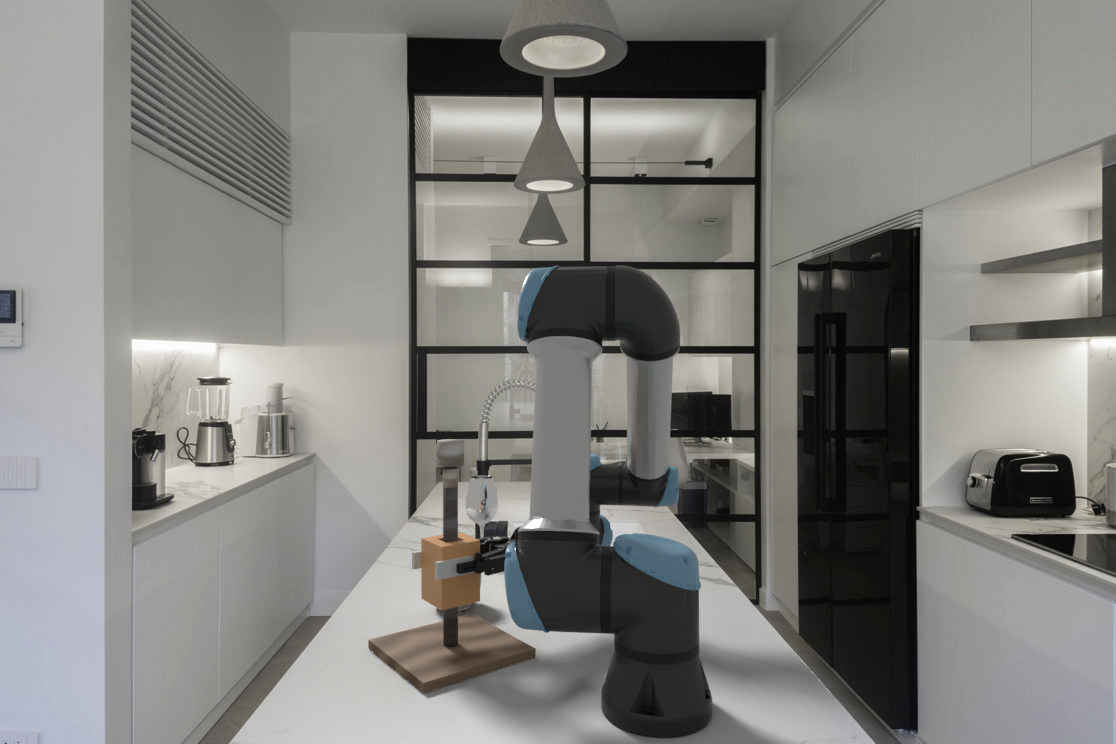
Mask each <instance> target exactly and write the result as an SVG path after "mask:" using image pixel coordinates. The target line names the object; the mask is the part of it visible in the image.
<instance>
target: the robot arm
mask: <svg viewBox="0 0 1116 744" xmlns="http://www.w3.org/2000/svg"><path fill="white" fill-rule="evenodd" d="M516 325H517V328H516V329H517V334H518V335H517V336H518V337H519V339H520V341H522V342H524V343H526V349H527V352H528V353H529V354H530V356H531V357H532V358H533V359H535V362H536V364H535V383H534V385H535V386H534V405H533V406H534V409H533V426H532V427H533V432H532V434H533V435H532V452H531V454H532V455H531V475H530V476H531V477H530V495H529V498H530V500H529V516H528V520H527V521H525V522H524V523H523V524H522V525H520V526H518V527H517V528H515V529H514V530H513V532H512V535H511V536H510V537H509V536H502V537H498V538H494V536H492V535H488V536H483V538H480V537H479V538H477V539H478V540H480V553H478V552H477V553H476V552H475V560H473V556H465V557H459V558H454V559H448V560H443V561H437V562H435V579H436V580H441V579H446V578H452V577H457V576H462V575H467V574H472V573H473V572H474V571H475V573H477V574H480V573H481V574H482V573H484V574H483V575H485V576H492V575H495V574H500V573H504V586H505V587H504V588H505V594H506V601H507V606H508V611H509V615H510V617H511V619H512V621H513V623H514V624H515V625H516V626H517V627H518V628H520V629H523V630H527V631H528V630H530V631H540V632H544V633H546V634H547V633H550V632H553V633H554V632H557V633H560V632H561V633H579V634H580V633H582V634H604V635H605V634H606V635H608V634H610V635H613V638H614V639H613V641H614V642H613V654H612V656H611V660H610V663H609V666H608V670H607V673H606V676H605V680H604V683H603V685H602V688H601V700H600V701H601V704H600V705H601V711H602V713H603V715H604V717H605V718H606V719H607V720H608V721H610V723H611V724H613V725H615V726H616V727H619V728H621V729H623V730H625V731H628V732H630V733H634V734H638V735H642V736H648V737H649V736H650V737H656V738H657V737H658V738H659V737H660V738H661V737H662V738H663V737H664V738H667V737H668V738H669V737H671V738H672V737H680V736H685V735H686V736H687V735H690V734H692V733H695V732H698V731H700V730H702V729H703V728H705V727H706V726H707V725H708V724H709V723H710V721H711V720H712V717H713V696H712V693H711V690H710V687H709V683H708V678H707V676H706V673H705V669H704V666H703V663H702V660H701V657H700V589H702V588H701V587H702V582H701V580H700V566H699V564H700V563H699V558H698V556H697V554H696V553H695V552H694V550H693V549H692V548H691V547H690V546H687V545H686V544H684V543H682V542H680V541H677V540H674V539H671V538H668V537H665V536H660V535H654V534H647V533H638V532H636V533H623V534H619V535H617V536H616V537H615V538H614V533H613V532H614V531H613V530H612V528H611V523H610V520H609V519H608V518H607V517H606V516H604V515H603V514H601V506H626V507H627V506H628V507H629V506H630V507H631V506H632V507H654V508H658V507H659V508H660V507H661V508H662V507H674V506H675V505H677V504H678V502H679V497H680V474H679V469H678V467H677V466H674V465H670V447H671V446H670V445H671V421H672V420H671V419H672V397H673V396H672V394H673V372H674V371H673V370H674V367H673V366H674V357H675V356H676V355H677V354H678V353H679V352H680V347H681V327H680V322H679V317H678V314H677V312H676V309H675V307H674V304H673V302H672V301H671V298H670V297H669V295H668V294H667V292H666V291H665V290H664V289H663V287H662V286H661V284H659V283H658V282H657V281H656V280H655V279H654V278H653V277H652V276H651V275H649V274H647V273H646V272H644V271H643V270H640V269H638V268H636V267H632V266H627V265H615V266H614V265H612V266H604V265H603V266H560V265H554V266H551V267H537V268H533V269H532V270H530V272H528V273H527V275H526V276H525V278H524V281H523V283H522V286H521V290H520V294H519V299H518V306H517V323H516ZM616 341H619V347H620V351H621V353H622V354H623V355H624V356H625V358H626V450H627V451H626V457H627V458H626V459H627V462H626V463H627V464H626V465H625V464H603V463H602V462H601V457H600V455H598V454H597V453H596V454H595V453H591V447H592V446H591V443H592V442H591V440H592V439H591V438H592V401H593V400H592V395H593V394H592V393H593V392H592V391H593V388H592V387H593V362H594V361H595V360H596V359H598V357H600V355H602V353H603V342H616ZM613 539H614V541H613ZM611 545H612V546H611ZM417 569H421V550H414V551H412V552H411V570H417Z"/></svg>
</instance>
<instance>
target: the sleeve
mask: <svg viewBox="0 0 1116 744" xmlns="http://www.w3.org/2000/svg"><path fill="white" fill-rule="evenodd" d="M420 539H421V542H420V544H421V548H420V551H421V568H420V569H421V570H420V571H421V600H423V601H425V602H427V603H428V604H430V605H431V606H434V607H435V608H437V609H438V610H440V611H443V610H446V609H450V608H454V607H458V606H463V605H467V604H471V603H472V604H474V603H479V602H481V587H480V574H477V573H475V571H474V572H473V573H472V574H467V575H462V576H457V577H452V578H446V579H441V580H436V579H435V562H437V561H443V560H448V559H454V558H459V557H465V556H473V560H475V552H476V553H477V552H478V553H480V540H478V538H475V537H473V536H470V535H467V534H465V533H462V532H459V531H458V541H454V542H448V543H446V542H443V534H440V535H434V536H426V537H421V538H420ZM472 604H471V605H472Z"/></svg>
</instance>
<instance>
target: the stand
mask: <svg viewBox="0 0 1116 744" xmlns="http://www.w3.org/2000/svg"><path fill="white" fill-rule="evenodd" d="M464 447H465V440H464V439H460V438H459V439H456V438H455V439H452V438H448V439H439V440H438V439H437V440H436V466H437V467H442V509H443V510H442V535H443V542H446V543H448V542H454V541H458V532H459V491H458V490H459V467H463V466H464V465H465V448H464ZM442 612H443V613H442V619H443V620H442V621H438V622H434V623H430V624H425V625H422V626H417V627H414V628H410V629H406V630H405V629H404V630H402V631H398V632H394V633H389V634H385V635H382V636H378V637H375V638H370V639H368V640H367V641H368V642H367V643H368V647H367V648H369V649H370V651H371V652H372V651H373V652H374V653H375V656H377V657H378V658H379V657H380V658H379V659H381V660H382V661H383V662H384V663H385V664H387V665H388V666H389V667H391V668H392V669H393V670H395V671H396V672H397V673H398V674H399V675H400V676H401V677H403V678H404V679H405V680H407V682H409V683H410V684H411V685H412V686H414V687H415V688H416V689H417V690H419V691H420V692H421V693H423V694H426V693H429V692H432V691H435V690H438V689H442V688H445V687H447V686H451V685H454V684H457V683H460V682H463V681H467V680H470V679H473V678H477V677H479V676H482V675H486V674H489V673H493V672H495V671H499V670H502V669H504V668H507V667H511V666H512V667H513V666H514V665H518V664H520V663H523V662H527V661H531V660H534V659H536V657H537V656H536V655H537V654H536V651H537V650H536V649H537V648H535V647H534V646H532V645H530V644H528V643H526V642H524V641H523V640H521V639H519V638H517V637H515V636H513V635H512V634H510V633H508V632H506V631H504V630H503V629H501V628H499V627H497V626H496V625H494V624H492V623H490V622H488V621H486V620H484V619H483V618H481V617H479V616H478V615H475V613H468V614H466V615H461V616H459V611H458V607H454V608H450V609H446V610H442ZM369 649H368V650H369ZM373 652H372V653H373ZM374 653H373V654H374Z"/></svg>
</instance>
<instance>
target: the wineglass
mask: <svg viewBox="0 0 1116 744" xmlns="http://www.w3.org/2000/svg"><path fill="white" fill-rule="evenodd" d="M468 483H469V484H468V486H467V492H466V498H465V499H466V500H465V511H466V515H467V517H468V518H469V519H470V520H471V521H472V522H473V523H475V524H476V525H478V526H479V531H480V533H479V535H480V537H479V538H484V530H485V525H486V524H489V523H490V522H492V520H493V519H495V517H496V516H497V513H498V509H499V500H498V493H497V489H496V485H495V480H494V476H492V475H484V474H483V475H473V476H471V477H470V478H469V482H468Z"/></svg>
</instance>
